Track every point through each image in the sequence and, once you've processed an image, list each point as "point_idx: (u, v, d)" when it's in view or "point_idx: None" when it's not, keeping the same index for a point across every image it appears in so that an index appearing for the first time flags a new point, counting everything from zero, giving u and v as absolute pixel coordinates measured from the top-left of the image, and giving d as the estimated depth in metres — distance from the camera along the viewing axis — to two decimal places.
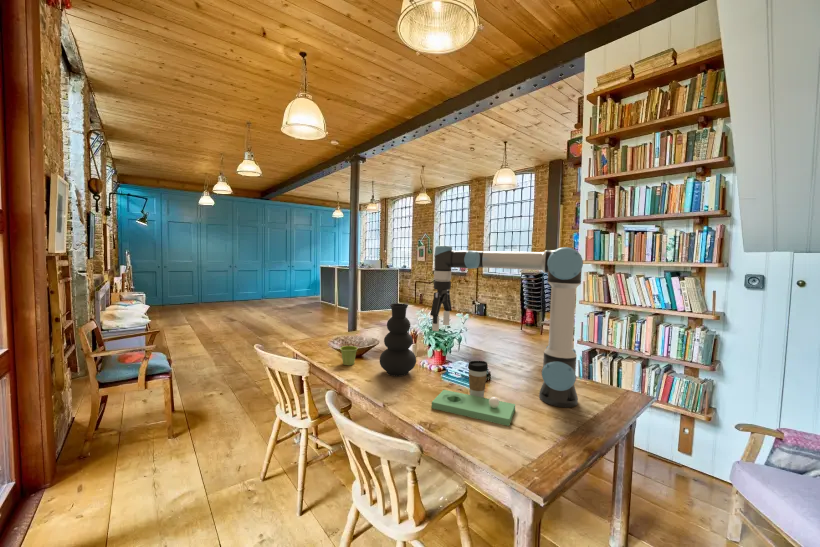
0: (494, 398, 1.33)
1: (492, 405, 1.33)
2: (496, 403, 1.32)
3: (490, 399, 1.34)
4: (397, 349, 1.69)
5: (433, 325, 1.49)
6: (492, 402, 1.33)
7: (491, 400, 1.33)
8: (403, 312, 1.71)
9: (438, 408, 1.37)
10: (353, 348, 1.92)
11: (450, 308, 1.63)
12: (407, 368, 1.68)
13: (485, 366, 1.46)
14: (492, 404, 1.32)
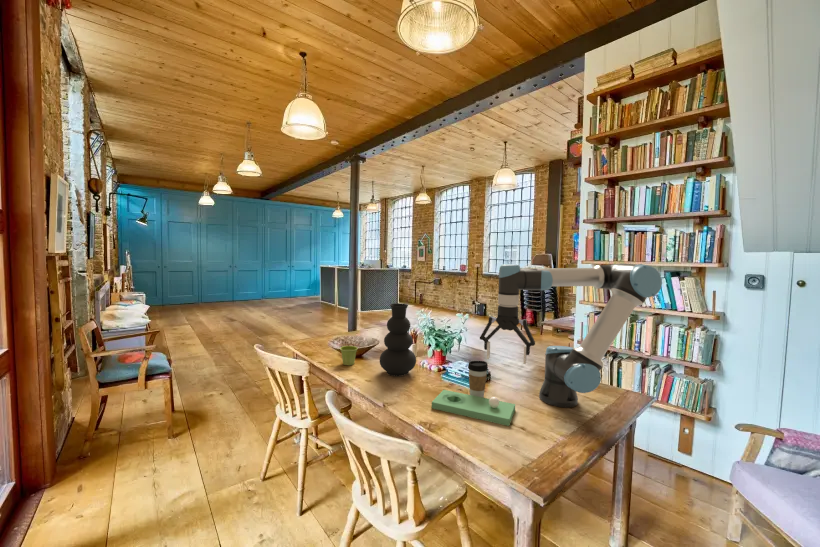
0: (494, 398, 1.33)
1: (492, 405, 1.33)
2: (496, 403, 1.32)
3: (490, 399, 1.34)
4: (397, 349, 1.69)
5: None
6: (492, 402, 1.33)
7: (491, 400, 1.33)
8: (403, 312, 1.71)
9: (438, 408, 1.37)
10: (353, 348, 1.92)
11: (531, 344, 1.28)
12: (407, 368, 1.68)
13: (485, 366, 1.46)
14: (492, 404, 1.32)
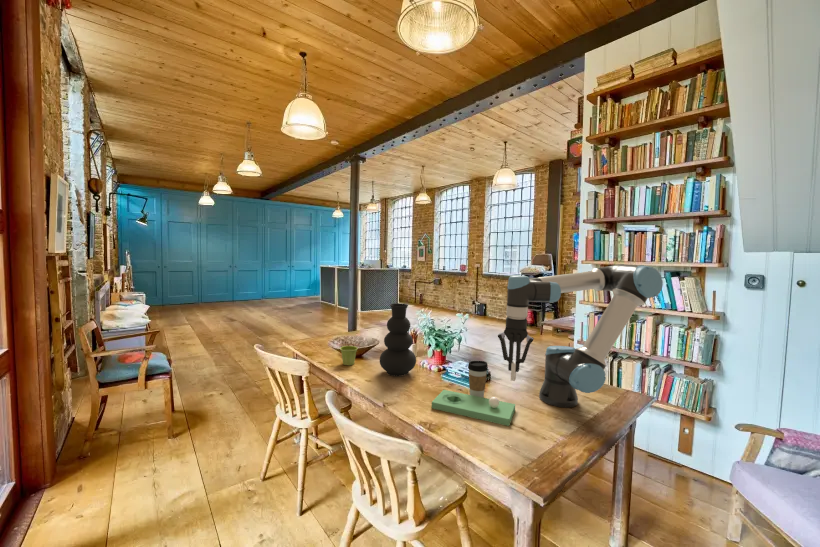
0: (494, 398, 1.33)
1: (492, 405, 1.33)
2: (496, 403, 1.32)
3: (490, 399, 1.34)
4: (397, 349, 1.69)
5: None
6: (492, 402, 1.33)
7: (491, 400, 1.33)
8: (403, 312, 1.71)
9: (438, 408, 1.37)
10: (353, 348, 1.92)
11: (520, 360, 1.28)
12: (407, 368, 1.68)
13: (485, 366, 1.46)
14: (492, 404, 1.32)
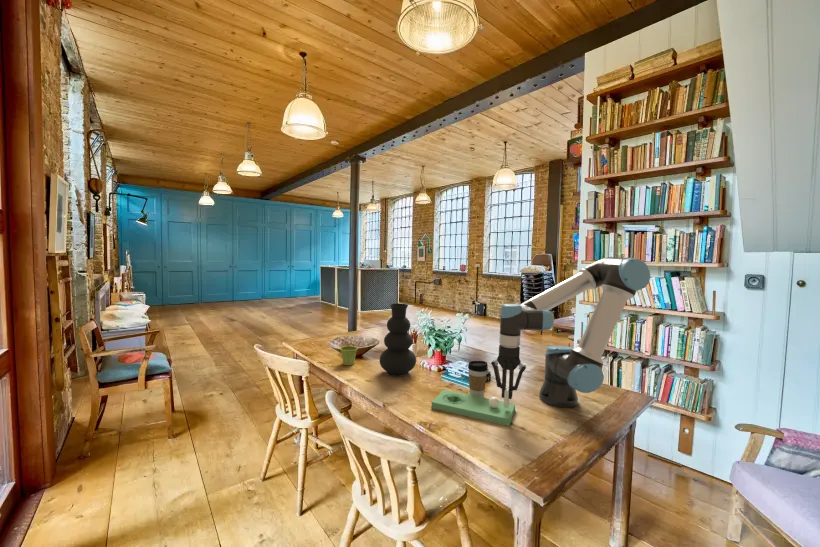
0: (494, 398, 1.33)
1: (492, 405, 1.33)
2: (496, 403, 1.32)
3: (490, 399, 1.34)
4: (397, 349, 1.69)
5: None
6: (492, 402, 1.33)
7: (491, 400, 1.33)
8: (403, 312, 1.71)
9: (438, 408, 1.37)
10: (353, 348, 1.92)
11: (513, 388, 1.29)
12: (407, 368, 1.68)
13: (485, 366, 1.46)
14: (492, 404, 1.32)
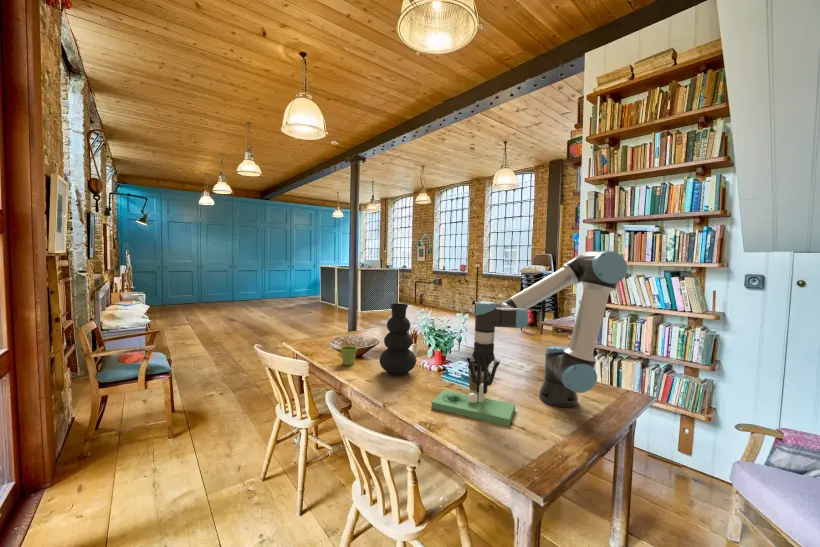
0: (475, 402, 1.36)
1: (470, 398, 1.36)
2: (470, 402, 1.36)
3: (476, 398, 1.36)
4: (397, 349, 1.69)
5: None
6: (473, 400, 1.36)
7: (475, 400, 1.36)
8: (403, 312, 1.71)
9: (438, 408, 1.37)
10: (353, 348, 1.92)
11: (488, 383, 1.33)
12: (407, 368, 1.68)
13: None
14: (471, 399, 1.36)
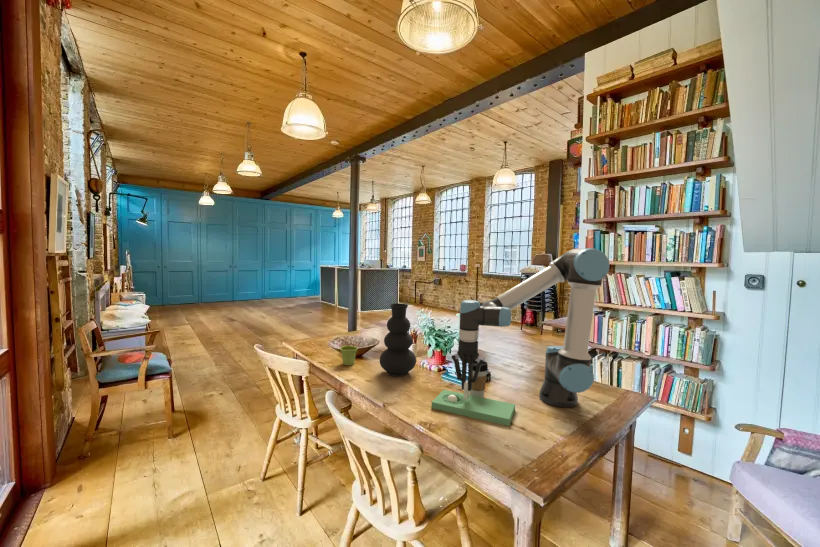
0: None
1: (451, 399, 1.40)
2: (448, 398, 1.41)
3: None
4: (397, 349, 1.69)
5: None
6: None
7: None
8: (403, 312, 1.71)
9: (438, 408, 1.37)
10: (353, 348, 1.92)
11: (472, 380, 1.36)
12: (407, 368, 1.68)
13: (485, 366, 1.46)
14: (451, 400, 1.40)
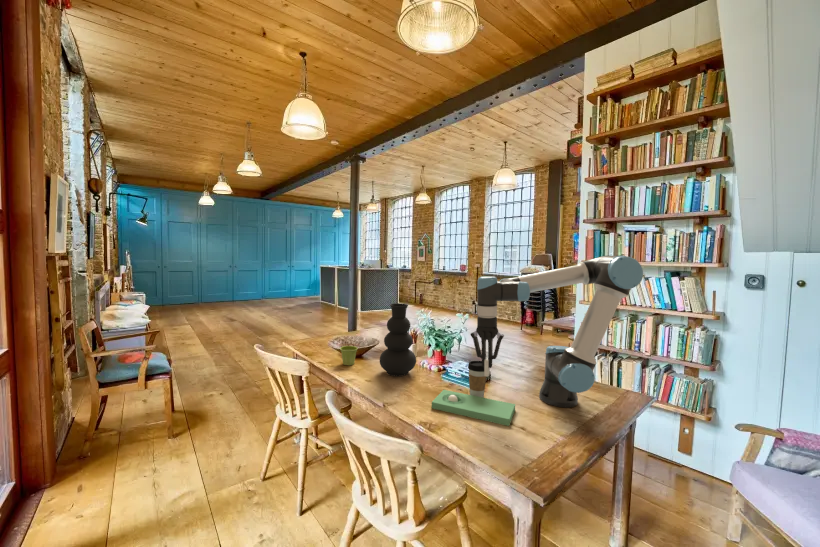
0: None
1: (452, 399, 1.40)
2: (448, 398, 1.41)
3: None
4: (397, 349, 1.69)
5: None
6: None
7: None
8: (403, 312, 1.71)
9: (438, 408, 1.37)
10: (353, 348, 1.92)
11: (492, 357, 1.35)
12: (407, 368, 1.68)
13: None
14: (451, 400, 1.39)
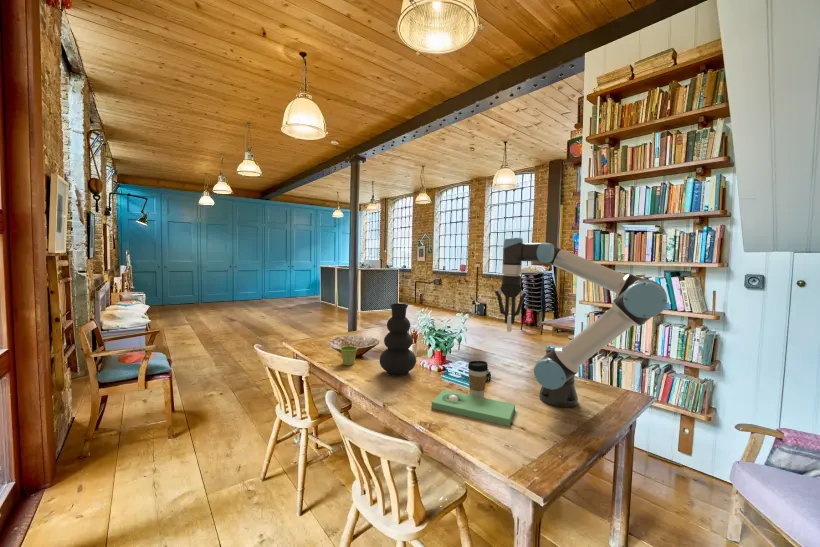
0: None
1: (452, 399, 1.39)
2: (449, 398, 1.41)
3: None
4: (397, 349, 1.69)
5: None
6: None
7: None
8: (403, 312, 1.71)
9: (438, 408, 1.37)
10: (353, 348, 1.92)
11: (515, 313, 1.43)
12: (407, 368, 1.68)
13: (485, 366, 1.46)
14: (452, 400, 1.39)
